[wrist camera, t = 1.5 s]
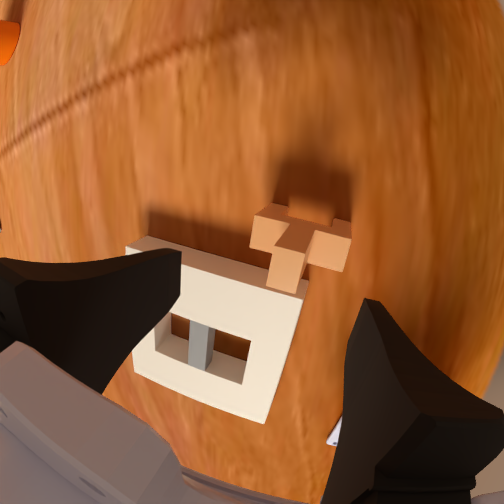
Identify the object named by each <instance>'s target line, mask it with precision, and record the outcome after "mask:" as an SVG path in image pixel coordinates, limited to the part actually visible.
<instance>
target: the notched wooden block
mask: <svg viewBox="0 0 504 504" xmlns="http://www.w3.org/2000/svg"><path fill="white" fill-rule="evenodd" d="M287 212H288V206H284V205H280V204H275V203H271V204H269V205H268V206H267V207H265V208H264V209H262V210H261V211H260V212H258V213H257V214H255V216H254V222H253V228H252V234H251V240H250V246H249V247H250V248H253V249H257V250H261V251H265V252H268V253H272V258H271V263H270V268H269V273H268V278H267V282H266V286H268V287H271V288H275V289H278V290H282V291H286V292H289V293H293V294H296V291H297V288H298V286H299V283H300V280H301V278H302V275H303V272H304V270H305V267H306V264H307V263H310V264H313V265H317V266H321V267H325V268H328V269H332V270H336V271H340V272H342V271H343V268H344V265H345V261H346V258H347V254H348V251H349V247H350V244H351V240H352V237H351V222H348V221H344V220H340V219H336V218H334V219H333V224H332V227H329V226H325V225H321V224H317V223H313V222H310V221H306V220H302V219H297V218H293V217H289V216H287Z"/></svg>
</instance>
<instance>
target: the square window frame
mask: <svg viewBox="0 0 504 504" xmlns="http://www.w3.org/2000/svg"><path fill="white" fill-rule="evenodd" d="M161 248H171V249H175V250H179V251H182V261H181V294H180V297H179V298H178V300H177V301H176V303H175V304H174V305H173V307H172V308H171V310H170V311H169V312H168V313H167V314H166V316H165V317H164V318H163V319H162V320H161V321H160V322H159V323H158V324H157V325H156V326H155V327H154V328H153V329H152V330H151V331H150V332H149V333H148V334H147V335H146V336H145V337H144V338H143V339H142V340H141V341H140V342H139V343H138V344H137V345H136V347H135V348H134V349H133V350H132V355H133V364H134V371H135V372H136V373H138V374H140V375H142V376H144V377H146V378H148V379H150V380H152V381H154V382H157V383H159V384H161V385H163V386H165V387H167V388H170V389H172V390H174V391H176V392H179V393H181V394H183V395H186V396H188V397H190V398H193V399H195V400H198V401H200V402H202V403H205V404H208V405H210V406H213V407H215V408H218V409H221V410H223V411H226V412H229V413H232V414H235V415H237V416H240V417H243V418H246V419H249V420H252V421H255V422H259V423H262V424H264V423H265V420H266V418H267V415H268V412H269V410H270V407H271V404H272V402H273V399H274V396H275V393H276V390H277V387H278V384H279V381H280V378H281V375H282V371H283V368H284V365H285V362H286V359H287V356H288V352H289V349H290V346H291V343H292V339H293V336H294V333H295V329H296V326H297V322H298V319H299V315H300V312H301V308H302V305H303V301H304V298H305V294H306V290H307V287H308V283H309V281H308V280H304V279H301V280H300V283H299V286H298V288H297V291H296V294H293V293H289V292H286V291H282V290H278V289H275V288H271V287H268V286H266V282H267V278H268V273H269V270H267V269H264V268H260V267H257V266H253V265H249V264H246V263H242V262H239V261H235V260H232V259H228V258H224V257H221V256H217V255H214V254H210V253H207V252H203V251H200V250H196V249H193V248H189V247H186V246H182V245H179V244H175V243H172V242H168V241H165V240H161V239H158V238H154V237H151V236H145V237H143V238H141V239H139V240H137V241H135V242H133V243H131V244H129V245H127V246H126V255H130V254H135V253H140V252H144V251H149V250H155V249H161ZM172 313H173V314H176V315H179V316H181V317H184V318H187V319H189V320H190V331H189V341H188V340H186V339H183V338H181V337H178V336H176V335H173V334H171V314H172ZM216 329H217V330H220V331H223V332H226V333H229V334H232V335H235V336H238V337H241V338H244V339H247V340H251V344H250V349H249V354H248V359H247V361H244V360H241V359H238V358H235V357H232V356H229V355H226V354H223V353H221V352H218V351H215V350H213V347H214V338H215V330H216Z"/></svg>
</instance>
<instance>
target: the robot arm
mask: <svg viewBox="0 0 504 504" xmlns="http://www.w3.org/2000/svg"><path fill="white" fill-rule="evenodd" d="M181 261H182V251H179V250H175V249H171V248H161V249H155V250H149V251H144V252H140V253H135V254H130V255H125V256H120V257H115V258H109V259H104V260H97V261H89V262H78V263H41V262H29V261H22V260H16V259H10V258H5V257H4V258H0V504H309V503H303V502H298V501H293V500H288V499H284V498H279V497H275V496H271V495H267V494H263V493H260V492H256V491H252V490H249V489H245V488H242V487H239V486H236V485H233V484H229V483H226V482H224V481H221V480H218V479H215V478H212V477H209V476H207V475H204V474H201V473H199V472H196V471H194V470H191V469H189V468H186V467H184V466H182V465H180V462H179V460H178V458H177V456H176V455H175V453H174V451H173V449H172V448H171V446H170V444H169V443H168V442H167V441H166V440H165V439H164V438H162V437H161V436H160V435H159V434H158V433H157V432H156V431H155V430H154V429H153V428H152V427H151V426H150V425H149V424H147V423H146V422H144V421H143V420H141V419H140V418H138V417H137V416H135V415H134V414H132V413H131V412H129V411H128V410H126V409H125V408H123V407H122V406H120V405H118V404H117V403H115V402H113V401H111V400H110V399H108V398H106V397H104V396H103V395H102V393H103V392H104V390H105V388H106V387H107V385H108V383H109V382H110V380H111V379H112V377H113V376H114V374H115V373H116V371H117V370H118V368H119V367H120V366H121V364H122V363H123V362H124V360H125V359H126V358H127V356H128V355H129V354H130V352H131V351H132V350H133V349H134V348H135V347H136V345H137V344H138V343H139V342H140V341H141V340H142V339H143V338H144V337H145V336H146V335H147V334H148V333H149V332H150V331H151V330H152V329H153V328H154V327H155V326H156V325H157V324H158V323H159V322H160V321H161V320H162V319H163V318H164V317H165V316H166V314H167V313H168V312H169V311H170V310H171V308H172V307H173V305H174V304H175V303H176V301H177V300H178V298H179V297H180V294H181ZM326 443H327V444H329V445H333V446H337V447H336V452H335V456H334V460H333V464H332V468H331V471H330V475H329V478H328V481H327V485H326V488H325V491H324V494H323V496H321V501H320V504H504V491H499V492H493V493H488V494H482V495H478V496H476V497H474V498H472V499H471V496H470V490H472V489H473V488H475V486H476V480H475V475H477V474H478V473H479V472H480V471H481V470H483V469H484V468H485V467H486V466H487V465H488V464H489V463H490V462H491V461H493V460H494V459H495V458H496V457H497V456H498V455H499V454H500V452H501V451H502V450H503V448H504V413H503V411H502V409H500V408H497V407H496V406H494V405H492V404H490V403H488V402H486V401H484V400H482V399H480V398H478V397H477V396H475V395H473V394H472V393H470V392H469V391H467V390H466V389H464V388H462V387H461V386H460V385H458V384H457V383H455V382H454V381H453V380H451V379H450V378H449V377H448V376H446V375H445V374H444V373H443V372H441V371H440V370H439V369H438V368H437V367H436V366H434V365H433V364H432V363H431V362H430V361H429V360H428V359H427V358H426V357H425V356H424V355H423V354H422V353H421V352H420V351H419V350H418V349H417V347H416V346H415V345H414V344H413V343H412V342H411V341H410V339H409V338H408V337H407V336H406V335H405V333H404V332H403V331H402V330H401V328H400V327H399V326H398V324H397V323H396V322H395V320H394V319H393V318H392V316H391V315H390V314H389V312H388V311H387V310H386V308H385V307H384V306H383V305H382V304H381V303H380V302H379V301H375V300H371V299H366V298H364V300H363V303H362V306H361V308H360V311H359V314H358V317H357V319H356V322H355V325H354V327H353V330H352V333H351V335H350V338H349V340H348V344H347V351H346V357H345V365H344V396H343V414H342V416H341V418H340V420H339V421H338V423H337V424H336V426H335V428H334V429H333V431H332V432H331V434H330V435H329V437H328V438H327V441H326Z"/></svg>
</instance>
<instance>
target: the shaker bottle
mask: <svg viewBox="0 0 504 504" xmlns="http://www.w3.org/2000/svg"><path fill="white" fill-rule="evenodd" d="M19 34H20V25H19V24H18V23H16V22H10V21H4V20H0V66H2V65H5V64H6V63H7V62H8V61H9V59H10V58H11V56H12V54H13V52H14V50H15V48H16V45H17V42H18V39H19Z"/></svg>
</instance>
